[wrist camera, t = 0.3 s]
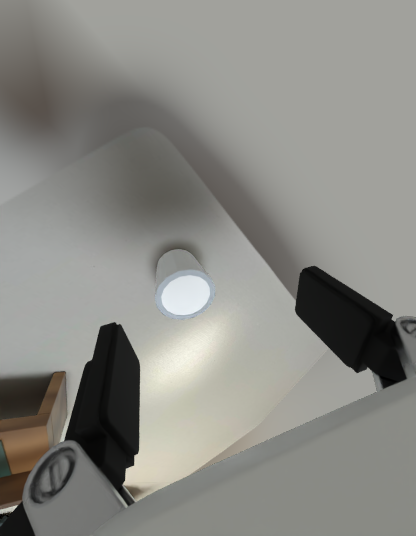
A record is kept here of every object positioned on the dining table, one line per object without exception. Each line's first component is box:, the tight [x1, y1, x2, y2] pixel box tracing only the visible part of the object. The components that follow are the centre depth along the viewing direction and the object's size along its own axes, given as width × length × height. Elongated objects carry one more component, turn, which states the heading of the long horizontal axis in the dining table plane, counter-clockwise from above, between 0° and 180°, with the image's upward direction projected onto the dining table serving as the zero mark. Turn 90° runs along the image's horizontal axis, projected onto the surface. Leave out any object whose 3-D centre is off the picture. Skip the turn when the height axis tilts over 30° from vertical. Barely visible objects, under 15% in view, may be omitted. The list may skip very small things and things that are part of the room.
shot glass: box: [155, 249, 215, 320], centre depth 25 cm, size 7×7×7 cm
